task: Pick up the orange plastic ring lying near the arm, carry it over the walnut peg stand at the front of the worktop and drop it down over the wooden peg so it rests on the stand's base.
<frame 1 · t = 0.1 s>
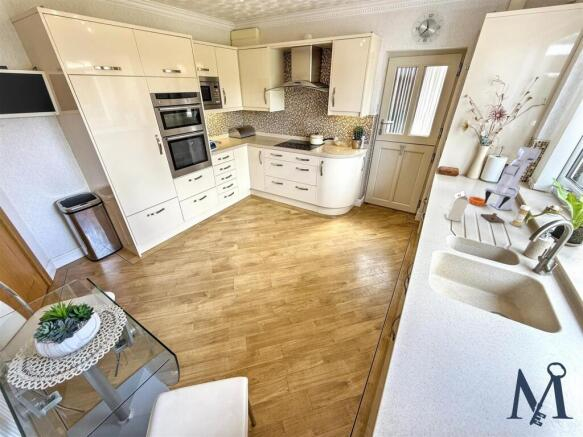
hand: (491, 205, 149), 11 cm above the worktop, tool pointing down, fingers open, 7 cm apart
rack: (492, 219, 155), on the worktop
milk carton: (452, 218, 154), on the worktop
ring: (476, 202, 177), on the worktop
sprinkles bottle: (514, 224, 150), on the worktop
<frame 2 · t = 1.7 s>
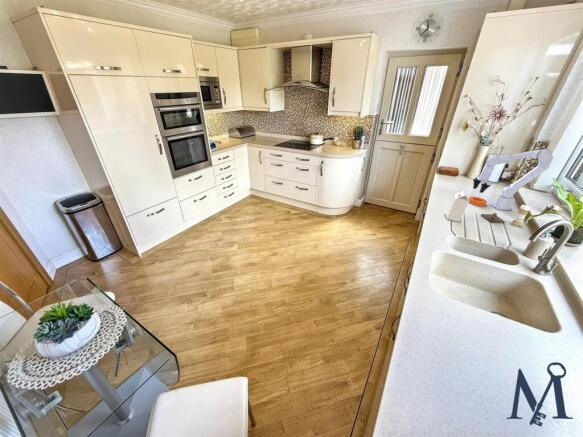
hand: (477, 190, 176), 8 cm above the worktop, tool pointing down, fingers open, 7 cm apart
nothing on the worktop moved.
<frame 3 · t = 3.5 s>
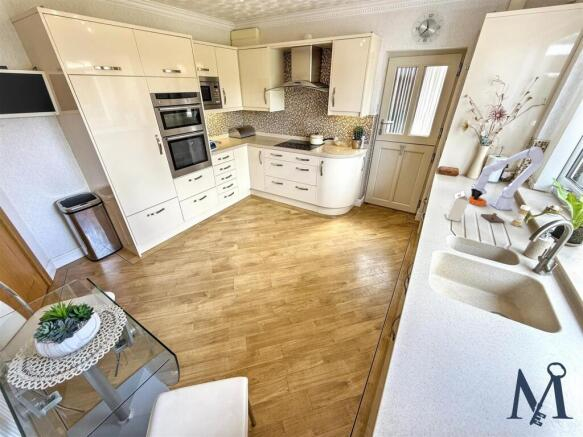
hand: (473, 198, 180), 1 cm above the worktop, tool pointing down, fingers closed on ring, 2 cm apart
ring: (476, 202, 177), on the worktop, touching gripper
everything else where it was.
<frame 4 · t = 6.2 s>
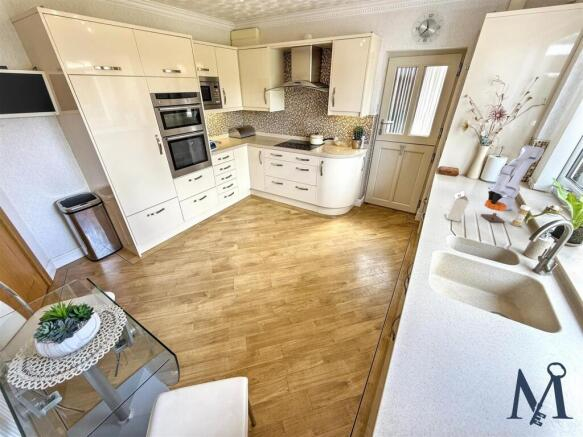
hand: (491, 202, 158), 8 cm above the worktop, tool pointing down, fingers closed on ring, 3 cm apart
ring: (494, 207, 155), point 7 cm above the worktop, touching gripper
everything else where it was.
when the fingers open (3 cm above the worktop, at t = 8.7 s): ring stays where it is, resting on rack.
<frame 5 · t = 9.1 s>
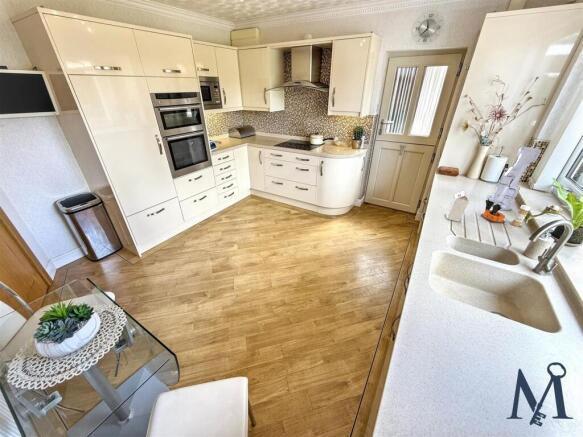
hand: (489, 212, 158), 3 cm above the worktop, tool pointing down, fingers open, 5 cm apart
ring: (492, 217, 155), point 1 cm above the worktop, touching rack
everything else where it was.
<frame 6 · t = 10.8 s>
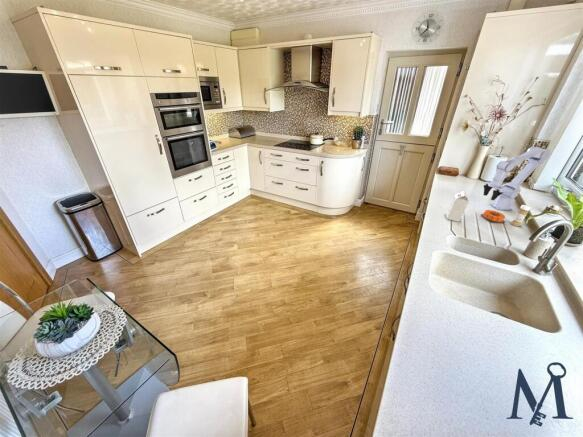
hand: (488, 197, 163), 9 cm above the worktop, tool pointing down, fingers open, 7 cm apart
nothing on the worktop moved.
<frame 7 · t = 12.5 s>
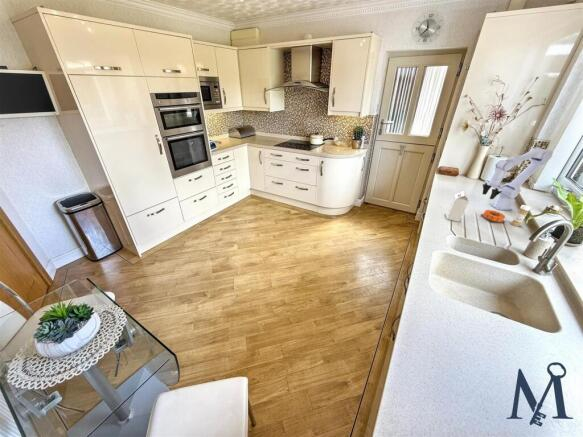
hand: (487, 196, 164), 9 cm above the worktop, tool pointing down, fingers open, 7 cm apart
nothing on the worktop moved.
at the end: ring 0.1 cm off-centre on the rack, point 1.2 cm above the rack's base; the gripper is holding nothing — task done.
